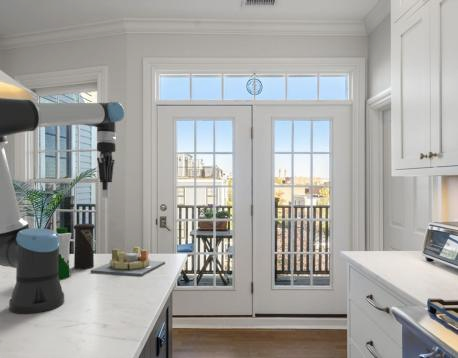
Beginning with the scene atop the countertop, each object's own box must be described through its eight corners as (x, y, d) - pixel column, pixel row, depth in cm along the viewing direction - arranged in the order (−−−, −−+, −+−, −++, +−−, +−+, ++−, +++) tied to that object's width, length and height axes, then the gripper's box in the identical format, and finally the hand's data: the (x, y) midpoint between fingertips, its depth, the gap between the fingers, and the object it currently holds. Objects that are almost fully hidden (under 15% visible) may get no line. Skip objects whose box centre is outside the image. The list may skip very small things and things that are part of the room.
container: (89, 269, 156) (90, 224, 156) (69, 269, 156) (70, 224, 156) (97, 265, 165) (97, 222, 165) (78, 265, 165) (78, 222, 165)
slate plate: (141, 276, 145) (141, 261, 145) (90, 272, 150) (90, 258, 151) (165, 263, 168) (165, 251, 168) (120, 260, 174) (120, 248, 174)
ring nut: (103, 268, 153) (103, 252, 153) (121, 260, 169) (122, 246, 169) (138, 270, 150) (139, 254, 150) (154, 261, 166) (154, 247, 166)
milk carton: (73, 276, 144) (73, 228, 144) (53, 282, 136) (53, 230, 136) (59, 274, 148) (59, 226, 148) (38, 279, 140) (39, 229, 140)
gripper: (108, 140, 143) (108, 198, 143) (120, 144, 156) (120, 197, 156) (91, 140, 144) (90, 198, 143) (104, 144, 157) (103, 197, 156)
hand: (105, 197), depth 149 cm, fingers closed
